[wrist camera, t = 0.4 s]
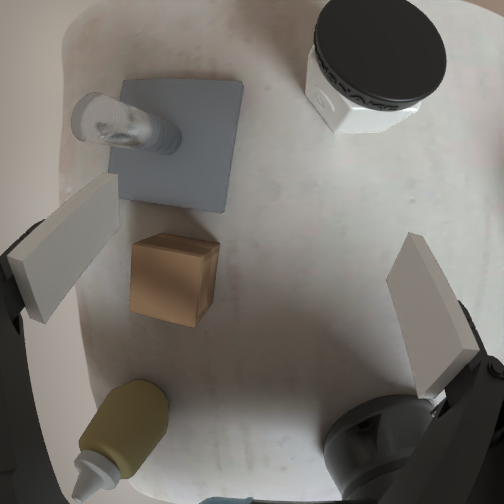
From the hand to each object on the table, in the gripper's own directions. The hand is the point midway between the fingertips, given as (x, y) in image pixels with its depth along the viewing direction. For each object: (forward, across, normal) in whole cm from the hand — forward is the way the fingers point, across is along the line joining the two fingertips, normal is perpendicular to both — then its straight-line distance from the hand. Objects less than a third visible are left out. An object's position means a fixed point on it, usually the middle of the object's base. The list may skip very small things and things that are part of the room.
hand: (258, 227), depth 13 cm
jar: (+18, -6, -5) cm, 20 cm away
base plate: (+17, +10, +2) cm, 19 cm away
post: (+15, +10, +2) cm, 18 cm away
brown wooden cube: (+12, +6, +13) cm, 19 cm away
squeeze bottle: (+6, +9, +30) cm, 32 cm away
